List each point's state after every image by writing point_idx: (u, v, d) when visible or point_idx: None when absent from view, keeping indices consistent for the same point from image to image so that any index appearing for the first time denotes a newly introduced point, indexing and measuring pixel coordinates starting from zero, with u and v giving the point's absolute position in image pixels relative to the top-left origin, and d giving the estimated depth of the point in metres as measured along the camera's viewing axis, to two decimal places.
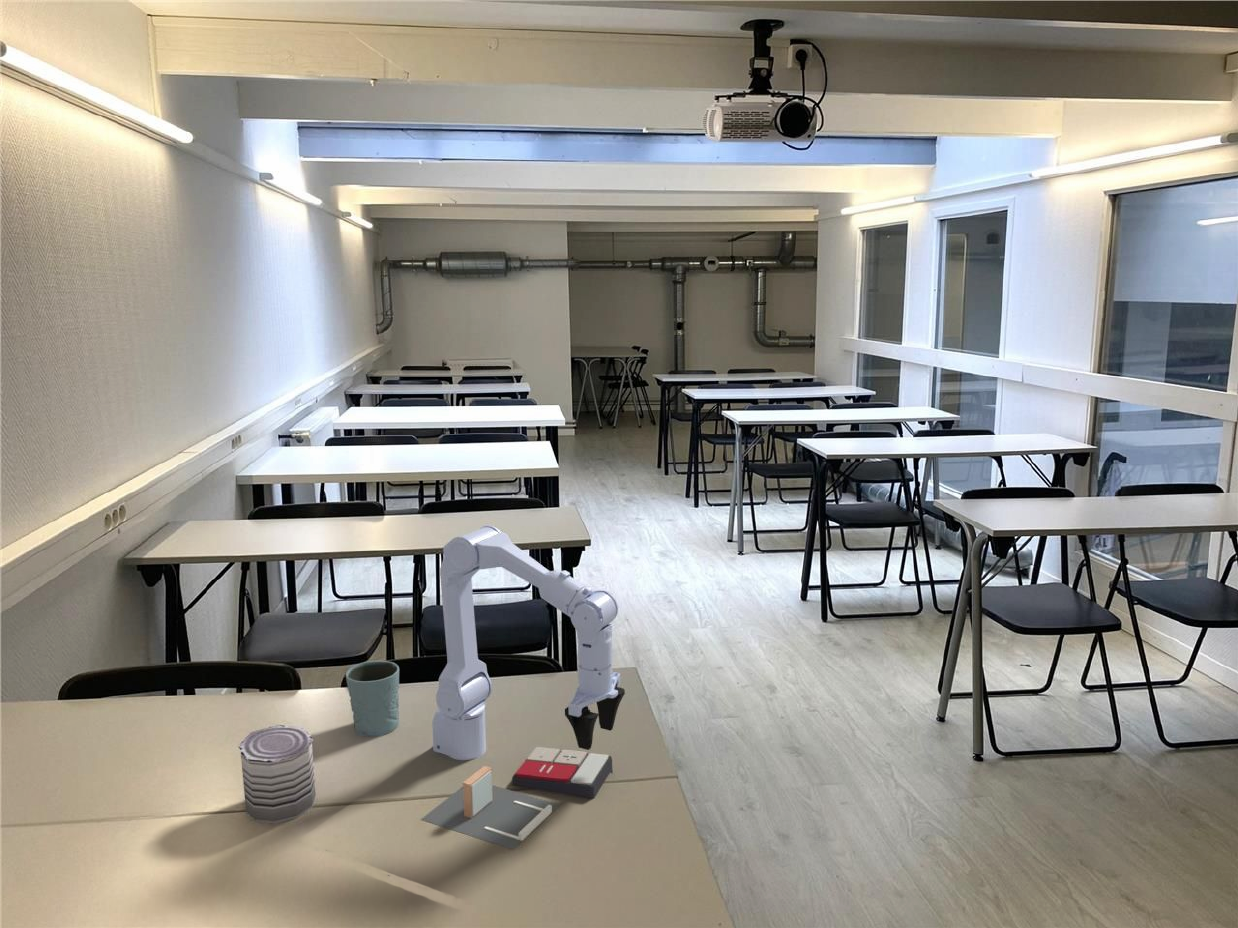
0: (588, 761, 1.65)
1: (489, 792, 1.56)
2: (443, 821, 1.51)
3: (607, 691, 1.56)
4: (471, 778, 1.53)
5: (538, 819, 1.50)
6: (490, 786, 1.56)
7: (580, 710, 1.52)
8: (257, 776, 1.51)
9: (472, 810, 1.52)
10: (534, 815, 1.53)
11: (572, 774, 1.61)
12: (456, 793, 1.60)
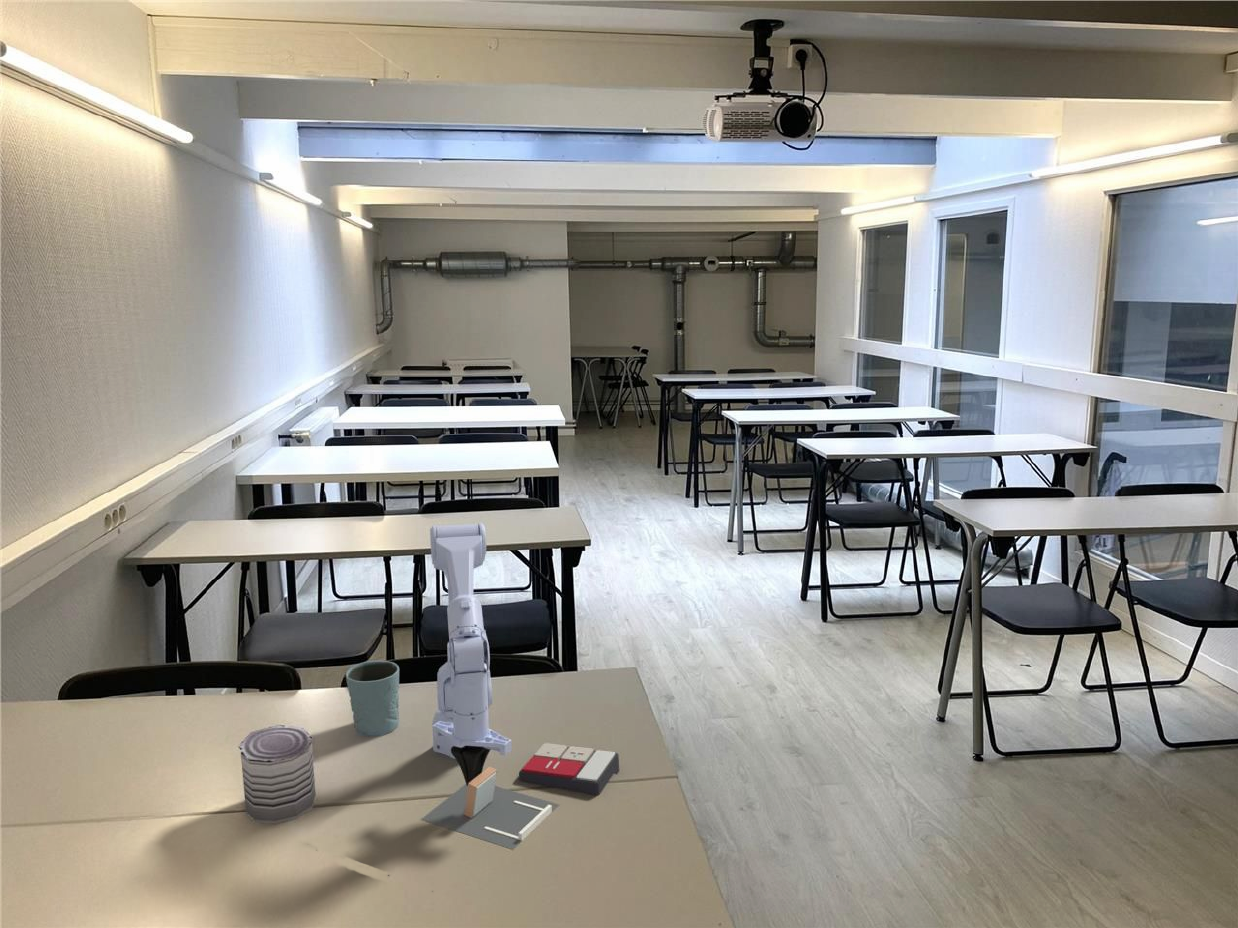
0: (594, 758, 1.66)
1: (491, 793, 1.56)
2: (443, 821, 1.51)
3: (457, 737, 1.51)
4: (476, 779, 1.52)
5: (538, 819, 1.50)
6: (493, 787, 1.56)
7: (435, 731, 1.55)
8: (257, 776, 1.51)
9: (473, 811, 1.52)
10: (534, 815, 1.53)
11: (578, 770, 1.62)
12: (456, 793, 1.60)
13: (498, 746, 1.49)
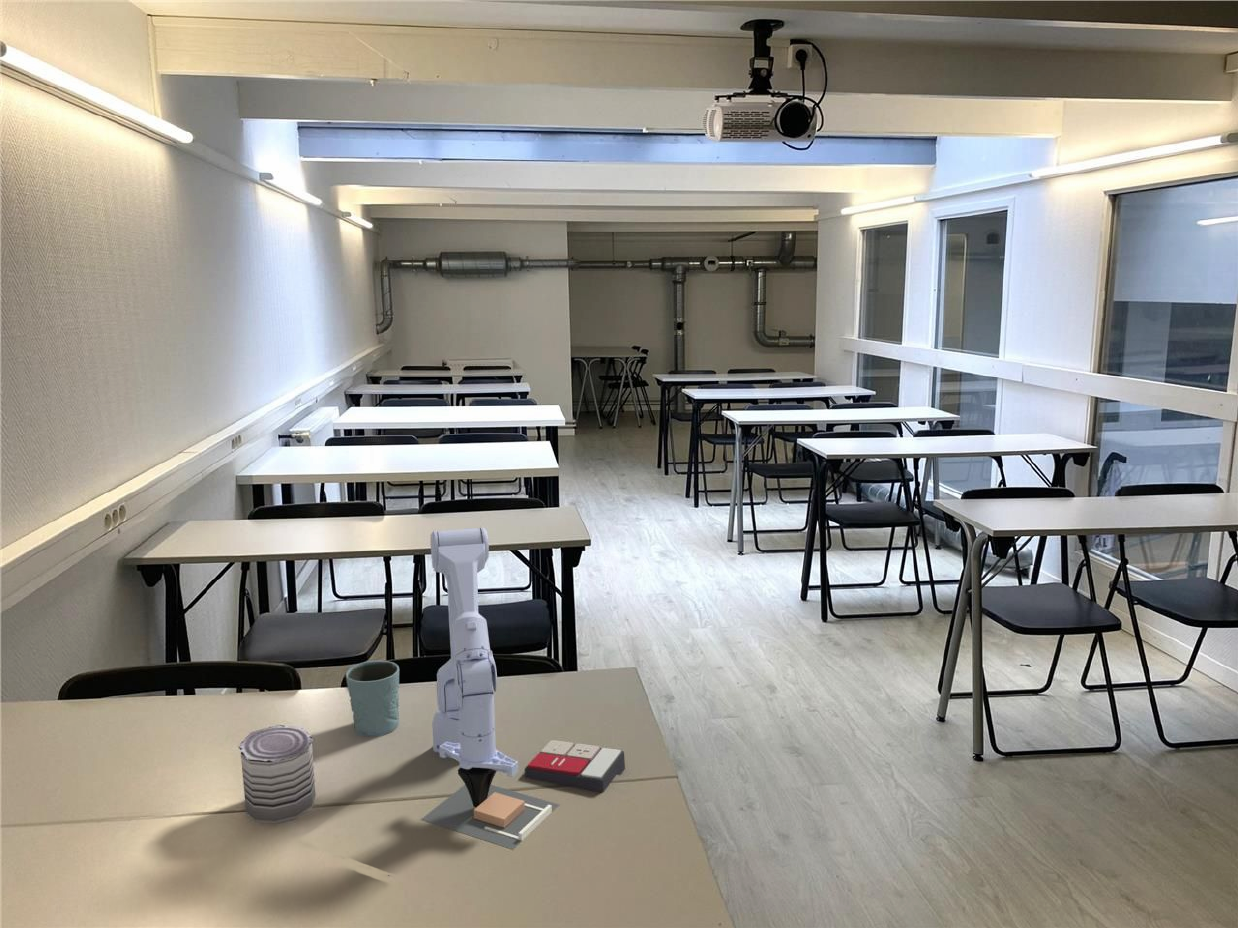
0: (600, 755, 1.67)
1: None
2: (443, 821, 1.51)
3: (464, 758, 1.51)
4: (510, 816, 1.50)
5: (538, 819, 1.50)
6: None
7: (441, 752, 1.55)
8: (257, 776, 1.51)
9: (481, 819, 1.52)
10: (534, 815, 1.53)
11: (583, 768, 1.63)
12: (456, 793, 1.60)
13: (505, 768, 1.49)
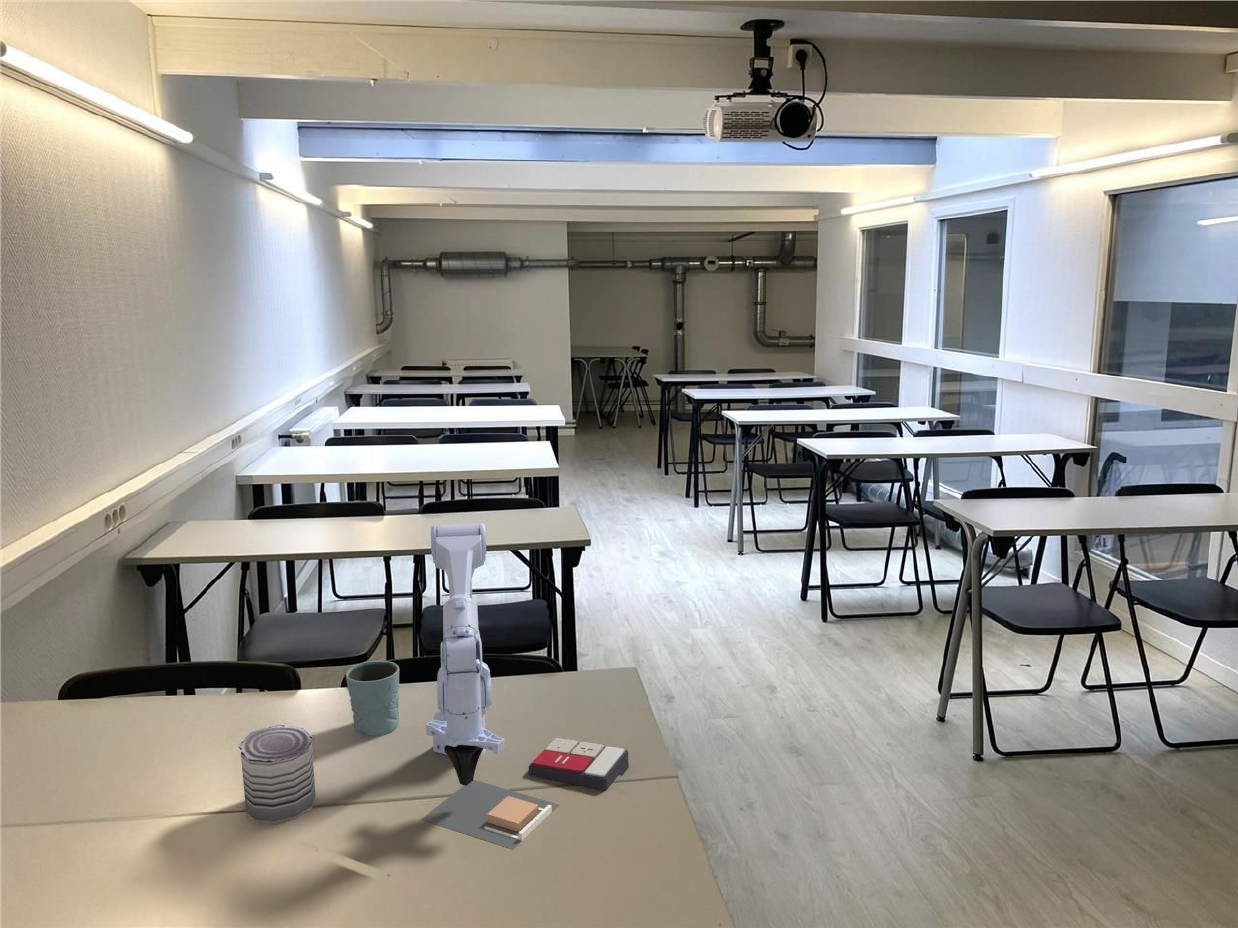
0: (604, 754, 1.68)
1: None
2: (443, 821, 1.51)
3: (450, 736, 1.51)
4: (524, 820, 1.49)
5: (538, 819, 1.50)
6: None
7: (428, 730, 1.56)
8: (257, 776, 1.51)
9: None
10: None
11: (587, 766, 1.64)
12: (456, 793, 1.60)
13: (491, 745, 1.50)
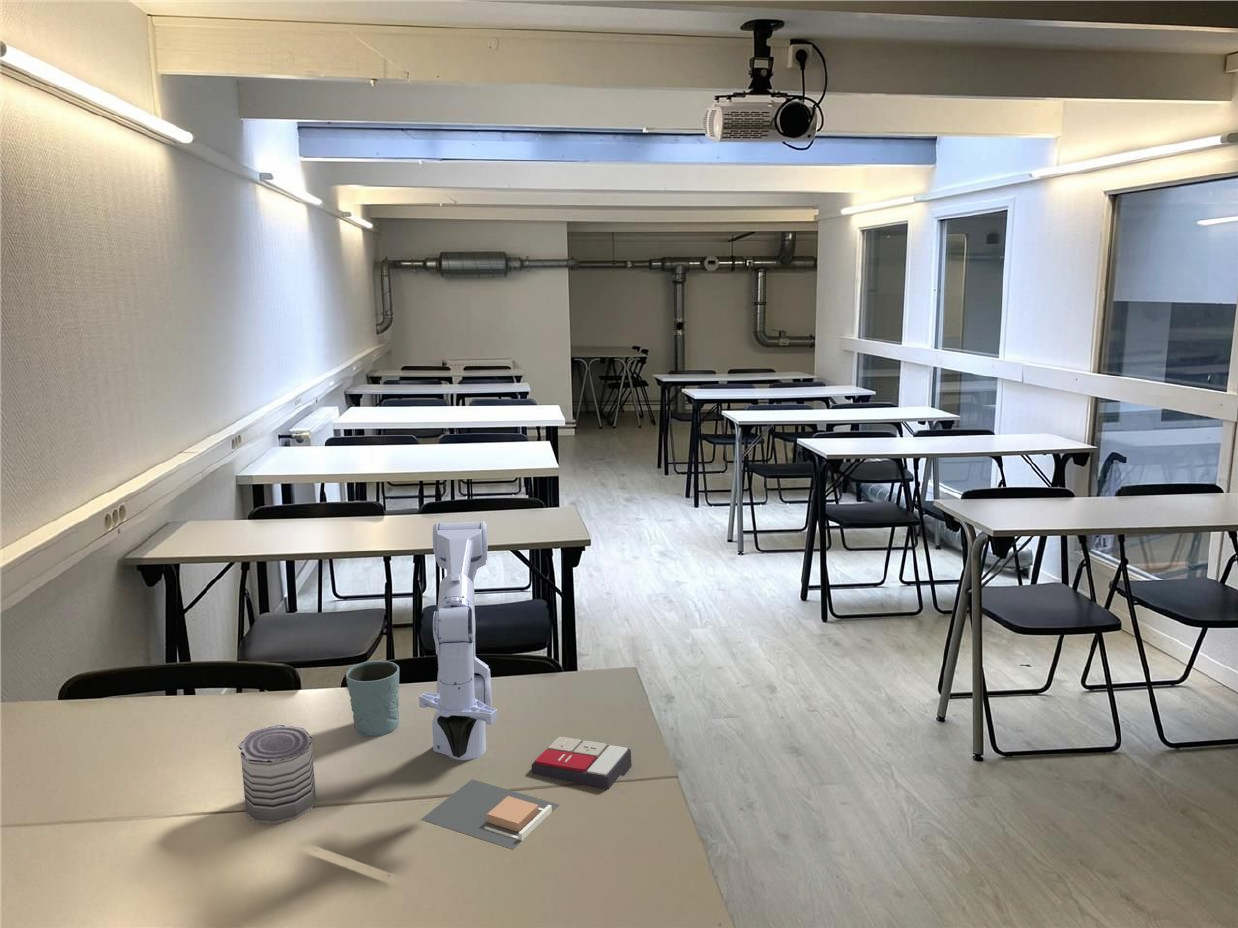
0: (607, 753, 1.68)
1: None
2: (443, 821, 1.51)
3: (443, 707, 1.51)
4: (524, 820, 1.49)
5: (538, 819, 1.50)
6: None
7: (421, 702, 1.55)
8: (257, 776, 1.51)
9: None
10: None
11: (589, 764, 1.64)
12: (456, 793, 1.60)
13: (484, 716, 1.50)
